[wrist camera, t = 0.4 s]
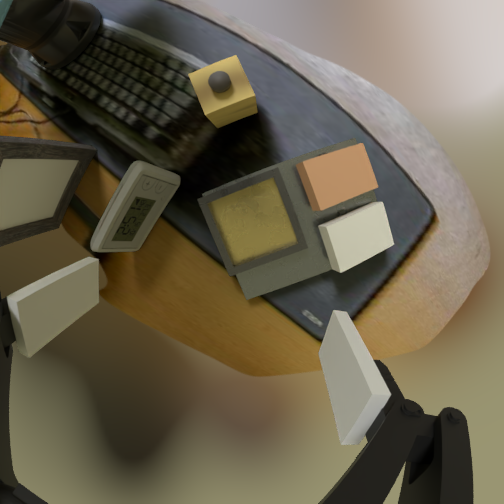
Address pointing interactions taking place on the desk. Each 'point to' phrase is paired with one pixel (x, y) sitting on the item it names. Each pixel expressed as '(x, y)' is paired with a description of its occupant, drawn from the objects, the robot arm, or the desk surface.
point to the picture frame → (37, 184)
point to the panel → (272, 225)
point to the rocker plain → (356, 236)
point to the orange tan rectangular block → (337, 176)
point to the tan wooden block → (224, 91)
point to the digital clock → (134, 208)
